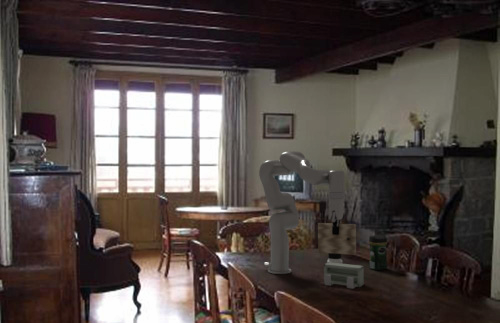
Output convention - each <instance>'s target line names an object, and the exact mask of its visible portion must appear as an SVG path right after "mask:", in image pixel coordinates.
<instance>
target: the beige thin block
mask: <svg viewBox="0 0 500 323" xmlns="http://www.w3.org/2000/svg"><path fill="white" fill-rule="evenodd" d="M338 226H339V235H333V234H332V223H327V222H326V223H325V222H324V223H323V222H318V223H317V253H321V254H328V253H334V254H341V255H349V256H350V255H353V256H354V255H355V256H356V255H357V224H349V223H341V224H338Z"/></svg>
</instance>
